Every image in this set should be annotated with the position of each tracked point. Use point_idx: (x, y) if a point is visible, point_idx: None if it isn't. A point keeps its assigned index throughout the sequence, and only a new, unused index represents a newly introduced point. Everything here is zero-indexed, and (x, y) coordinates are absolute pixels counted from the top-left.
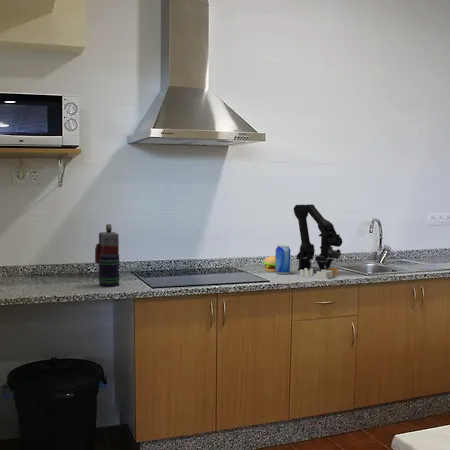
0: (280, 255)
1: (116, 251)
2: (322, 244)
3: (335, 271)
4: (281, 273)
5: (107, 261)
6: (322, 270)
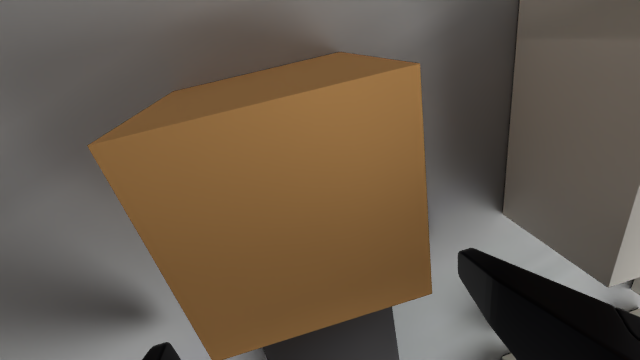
0: None
1: None
2: None
3: (340, 64)
4: None
5: None
6: (636, 240)
